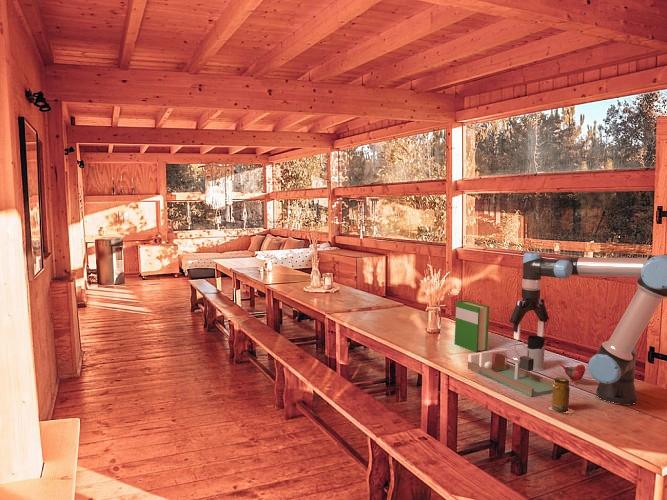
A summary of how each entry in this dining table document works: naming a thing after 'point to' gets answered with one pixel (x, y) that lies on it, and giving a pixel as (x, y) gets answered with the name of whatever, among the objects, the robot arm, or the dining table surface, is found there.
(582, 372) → the decorative bird figurine
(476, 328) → the hardback book
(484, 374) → the pitch
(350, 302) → the dining table surface
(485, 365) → the ball
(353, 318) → the dining table surface
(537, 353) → the glass holder
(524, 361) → the foosball rod
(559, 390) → the condiment
